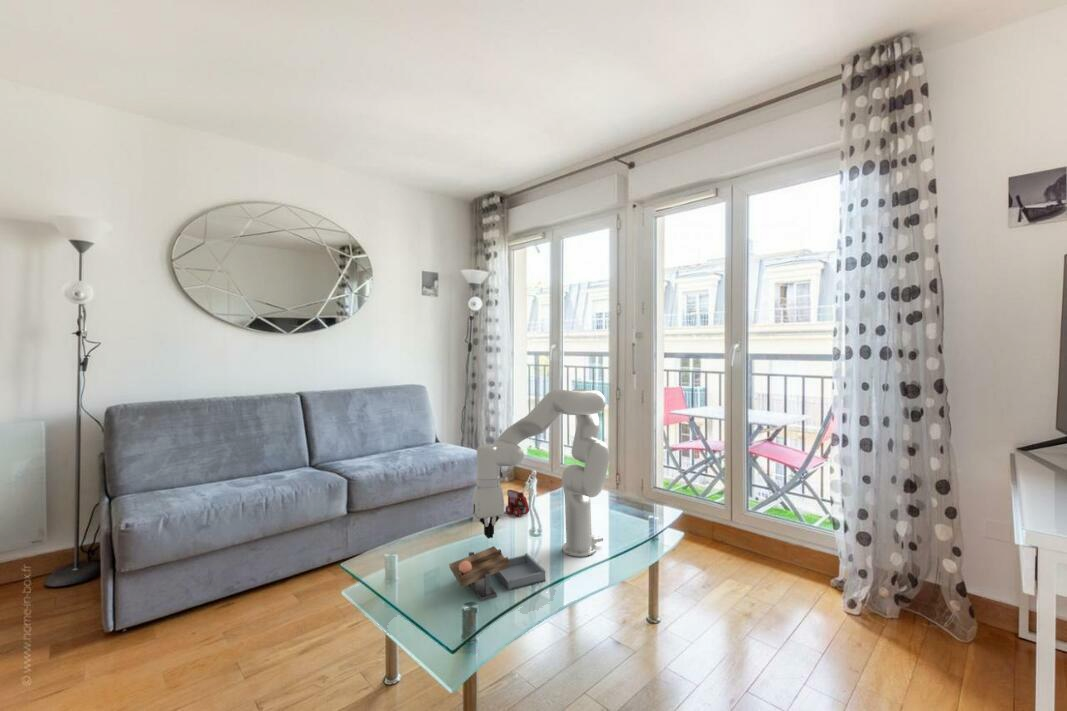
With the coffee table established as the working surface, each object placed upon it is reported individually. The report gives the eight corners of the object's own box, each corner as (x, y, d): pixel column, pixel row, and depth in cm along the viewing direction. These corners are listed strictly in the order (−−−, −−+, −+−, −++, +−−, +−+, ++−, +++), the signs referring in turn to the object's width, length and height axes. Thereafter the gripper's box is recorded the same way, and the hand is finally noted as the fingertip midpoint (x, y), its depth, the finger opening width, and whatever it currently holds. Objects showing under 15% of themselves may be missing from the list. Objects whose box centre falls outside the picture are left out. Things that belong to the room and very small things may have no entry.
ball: (470, 569, 149) (468, 556, 149) (474, 574, 146) (472, 561, 145) (458, 573, 148) (456, 560, 147) (461, 578, 144) (459, 566, 144)
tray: (527, 562, 167) (526, 553, 167) (545, 581, 153) (545, 570, 153) (492, 570, 162) (492, 560, 162) (508, 590, 148) (508, 579, 148)
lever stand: (478, 571, 161) (477, 550, 161) (496, 597, 144) (495, 572, 144) (464, 575, 159) (463, 553, 159) (481, 601, 142) (480, 576, 142)
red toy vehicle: (522, 518, 211) (521, 495, 211) (503, 513, 220) (502, 490, 220) (532, 514, 216) (531, 492, 216) (513, 509, 225) (513, 487, 225)
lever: (494, 549, 162) (492, 540, 162) (510, 567, 148) (508, 556, 148) (449, 568, 155) (447, 558, 155) (462, 588, 142) (459, 577, 142)
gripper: (505, 477, 165) (505, 529, 165) (463, 482, 159) (464, 536, 159) (513, 482, 158) (513, 537, 158) (470, 487, 152) (470, 544, 152)
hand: (489, 536), depth 158 cm, fingers closed
